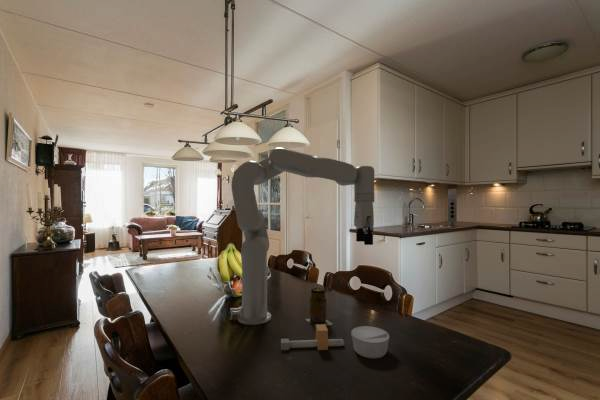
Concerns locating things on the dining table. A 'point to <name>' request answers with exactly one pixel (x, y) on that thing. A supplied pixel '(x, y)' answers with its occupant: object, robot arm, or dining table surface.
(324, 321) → the condiment
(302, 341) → the long grey bar
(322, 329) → the tan wooden block
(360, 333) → the ramekin
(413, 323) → the dining table surface
